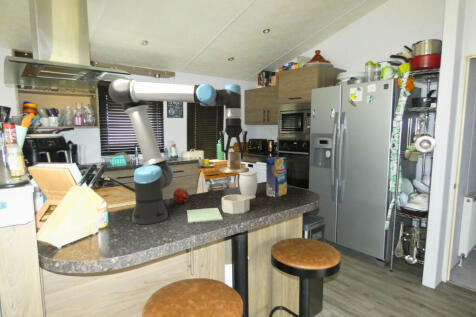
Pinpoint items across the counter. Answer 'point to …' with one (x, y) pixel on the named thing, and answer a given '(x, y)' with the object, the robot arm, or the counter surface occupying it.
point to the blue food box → (276, 176)
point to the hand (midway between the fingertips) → (234, 166)
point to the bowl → (235, 204)
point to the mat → (203, 215)
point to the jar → (248, 183)
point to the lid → (234, 164)
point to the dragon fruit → (181, 195)
